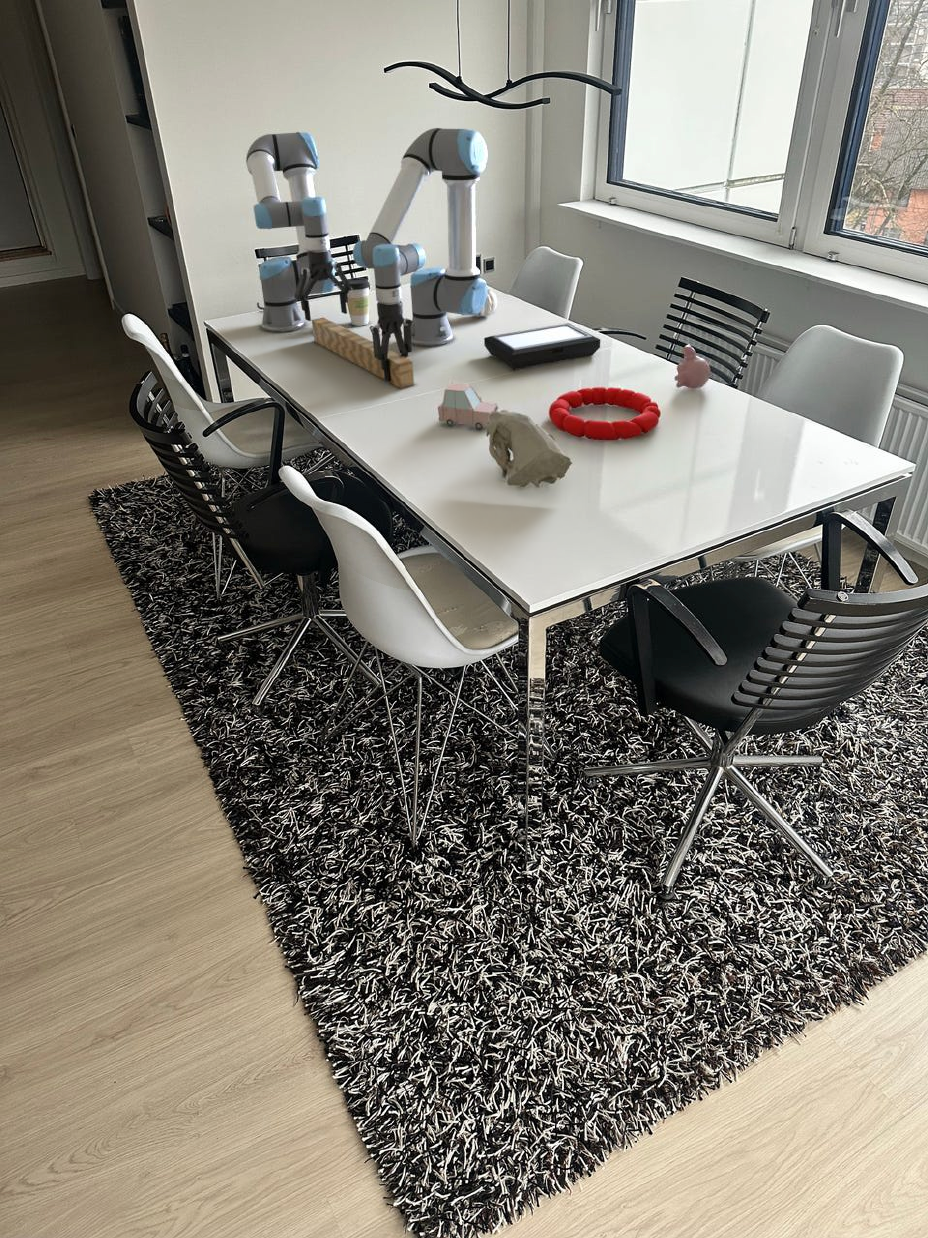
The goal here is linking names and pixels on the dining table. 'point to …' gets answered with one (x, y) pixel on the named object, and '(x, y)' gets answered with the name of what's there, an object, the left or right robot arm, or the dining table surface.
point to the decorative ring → (604, 428)
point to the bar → (361, 351)
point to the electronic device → (542, 345)
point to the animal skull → (525, 450)
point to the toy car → (465, 406)
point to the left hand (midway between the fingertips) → (326, 316)
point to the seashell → (488, 304)
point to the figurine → (692, 370)
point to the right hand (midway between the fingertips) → (395, 378)
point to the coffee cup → (358, 301)
